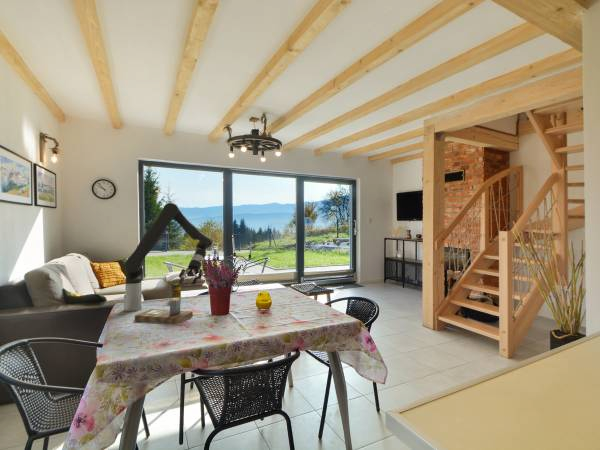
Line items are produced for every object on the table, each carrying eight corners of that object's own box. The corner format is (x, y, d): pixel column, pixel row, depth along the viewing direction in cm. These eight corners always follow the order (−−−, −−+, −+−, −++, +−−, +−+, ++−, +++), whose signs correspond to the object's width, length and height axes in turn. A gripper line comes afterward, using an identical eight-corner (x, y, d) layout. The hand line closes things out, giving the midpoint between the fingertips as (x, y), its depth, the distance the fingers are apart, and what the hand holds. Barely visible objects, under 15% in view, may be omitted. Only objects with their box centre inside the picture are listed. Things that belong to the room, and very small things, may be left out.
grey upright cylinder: (169, 320, 182) (169, 299, 182) (174, 318, 186) (174, 297, 186) (176, 320, 182) (176, 299, 181) (180, 318, 185) (180, 297, 185)
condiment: (183, 301, 225) (183, 284, 225) (171, 303, 219) (171, 286, 219) (178, 299, 230) (178, 283, 230) (166, 301, 225) (166, 284, 224)
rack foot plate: (134, 320, 181) (134, 314, 181) (150, 313, 195) (150, 308, 195) (179, 323, 176) (179, 317, 176) (192, 316, 189) (192, 310, 189)
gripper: (183, 259, 206) (173, 280, 194) (204, 259, 203) (195, 280, 192) (188, 266, 211) (178, 287, 200) (208, 266, 208) (199, 287, 197)
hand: (186, 283), depth 196 cm, fingers open, 8 cm apart
